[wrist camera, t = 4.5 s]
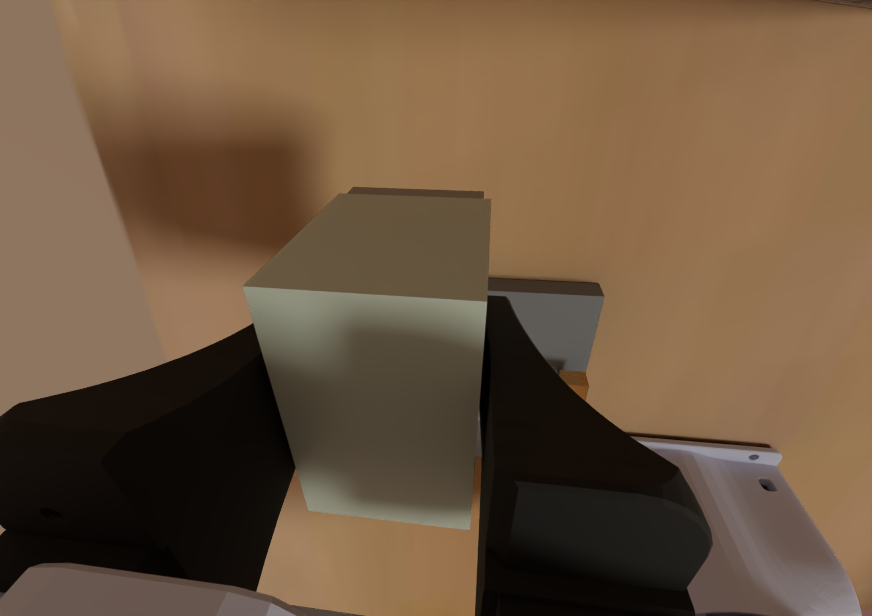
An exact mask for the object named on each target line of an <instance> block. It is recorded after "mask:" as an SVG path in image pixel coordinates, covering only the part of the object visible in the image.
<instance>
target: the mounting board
mask: <svg viewBox="0 0 872 616" xmlns="http://www.w3.org/2000/svg"><path fill="white" fill-rule="evenodd" d="M487 295H492V296H506V297H507V298H508V299H509V300H510V303H511V305H512V308H513V310H514V312H515V314H516V316H517V317H518V319H519V321H520V323H521V325H522V326H523V328H524V330H525V331H526V333H527V334H528V336H529V337H530V339H531V340H532V342H533V343H534V345H535V346H536V348H537V349H538V350H539V352H540V353H541V354H542V356H543V357H544V358H545V359H546V361H547V362H548V363H549V364H550V366H556V367H557V372H558V375H559V371H560V370H565V371H580V372H585V373H586V370H587V365H588V361H589V357H590V353H591V349H592V345H593V341H594V337H595V333H596V329H597V325H598V321H599V317H600V313H601V308H602V304H603V300H604V294H603V292H602V290H601V287H600V285H599V283H580V282H558V281H537V280H516V279H495V278H488V294H487ZM475 457H478V458H482V456H481V435H480V420H478V430H477V443H476V456H475Z"/></svg>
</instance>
